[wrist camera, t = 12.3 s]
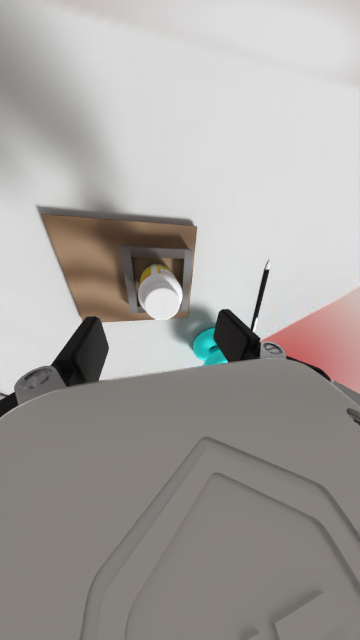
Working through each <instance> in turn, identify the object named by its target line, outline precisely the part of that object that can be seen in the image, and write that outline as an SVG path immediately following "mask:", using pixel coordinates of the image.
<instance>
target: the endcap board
mask: <svg viewBox="0 0 360 640" xmlns="http://www.w3.org/2000/svg"><path fill="white" fill-rule="evenodd" d="M41 215H42V218H43V221H44V223H45V226H46V228H47V231H48V233H49V236H50V239H51V241H52V244H53V246H54V249H55V251H56V254H57V257H58V259H59V262H60V264H61V267H62V269H63V272H64V275H65V277H66V280H67V282H68V285H69V287H70V290H71V293H72V295H73V298H74V300H75V303H76V305H77V308H78V311H79V313H80V316H81V318H82V321H83V320H84V319H85V318H86V317H89V316H96V317H97V318H100V320H101V322H117V321H135V320H154V318H152V317H151V316H150V315H149V314H148V313H147V312H146V311H145V310H144V309H143V308H142V306H141V305H140V302H139V299H138V290H139V285H140V279H141V274H142V272H143V270H144V269H145V268H146V267H147V266H149V265H150V264H154V263H160V264H163V265H165V266H167V267H168V268H169V269H170V270H171V271H172V273H173V275H174V276H175V278H176V279H177V281H178V282H179V284H180V286H181V289H182V294H183V296H182V301H181V304H180V307H179V310H178V312H177V313H176V314H175V315H174V316H173V317H171V318H169V319H172V318H188V314H189V304H190V294H191V284H192V274H193V263H194V253H195V243H196V233H197V226H186V225H174V224H161V223H148V222H136V221H123V220H110V219H98V218H85V217H72V216H60V215H47V214H41Z"/></svg>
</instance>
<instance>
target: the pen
mask: <svg viewBox="0 0 360 640" xmlns="http://www.w3.org/2000/svg"><path fill="white" fill-rule="evenodd" d="M269 269H270V260H269V261H268V263H267V265H266V267H265V270H264V275H263V279H262V283H261V288H260V292H259V296H258V300H257V305H256V309H255V313H254V318H253V322H252V326H251V330H252V331H253V332H255V328H256V324H257V320H258V318H257V317H258V313H259V309H260V305H261V301H262V297H263V293H264V289H265V285H266V281H267V277H268V273H269Z"/></svg>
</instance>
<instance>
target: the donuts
mask: <svg viewBox="0 0 360 640" xmlns="http://www.w3.org/2000/svg"><path fill="white" fill-rule="evenodd" d="M214 331H215V328H212V329H208V330H206V331H204V332H202V333H201V334H200V335H198V337H197V338H196V339H195V341H194V344H193V351H194V354H195V355H196V356H197V357H198V358H199V359H201V360H203V361H205V362H204V364H203V366H205V365H213V364H220V363H227V362H228V361H227V360H226V358H225V357H224V355H223V353H222V352H221V350H220V349H219V347H218V346H216V345H217V344H216V342H215V341H214V339H213V335H214ZM213 346H216V347H214V348H212V349H210V348H211V347H213Z"/></svg>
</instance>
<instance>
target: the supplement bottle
mask: <svg viewBox="0 0 360 640" xmlns="http://www.w3.org/2000/svg"><path fill="white" fill-rule="evenodd" d="M182 296H183V294H182V289H181V286H180V284H179V282H178V281H177V279H176V278H175V276H174V275H173V273H172V271H171V270H170V269H169V268H168V267H167V266H165V265H163V264H160V263H154V264H150V265H149V266H147V267H146V268H145V269H144V270H143V272H142V274H141V279H140V285H139V290H138V299H139V302H140V305H141V306H142V308H143V309H144V310H145V311H146V312H147V313H148V314H149V315H150V316H151V317H152V318H154V319H157V320H167V319H169V318H171V317H173V316H174V315H175V314H176V313H177V312H178V310H179V307H180V304H181V301H182Z"/></svg>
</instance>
